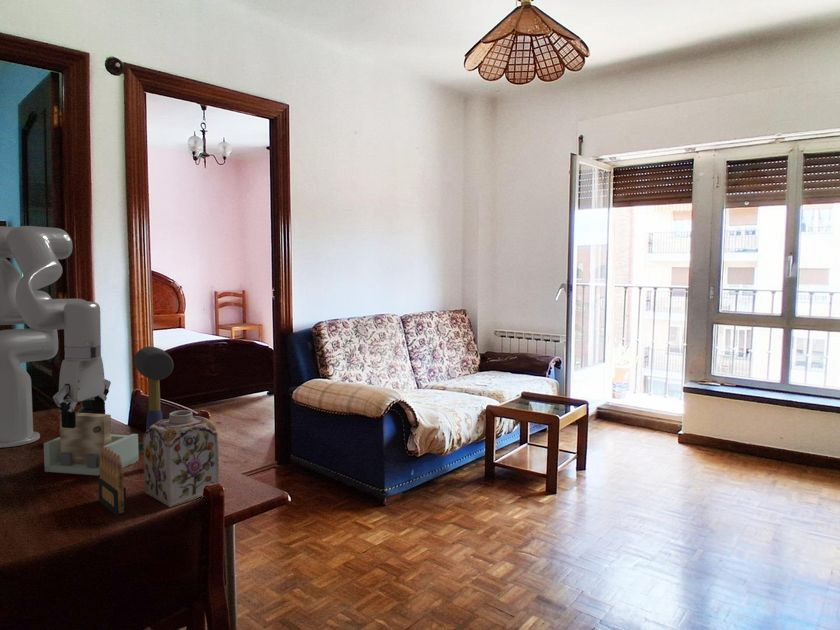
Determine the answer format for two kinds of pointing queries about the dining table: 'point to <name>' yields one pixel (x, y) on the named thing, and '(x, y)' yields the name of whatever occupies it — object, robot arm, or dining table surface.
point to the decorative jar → (180, 458)
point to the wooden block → (86, 436)
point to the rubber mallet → (153, 377)
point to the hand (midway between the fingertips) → (84, 421)
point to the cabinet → (89, 456)
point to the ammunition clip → (112, 482)
